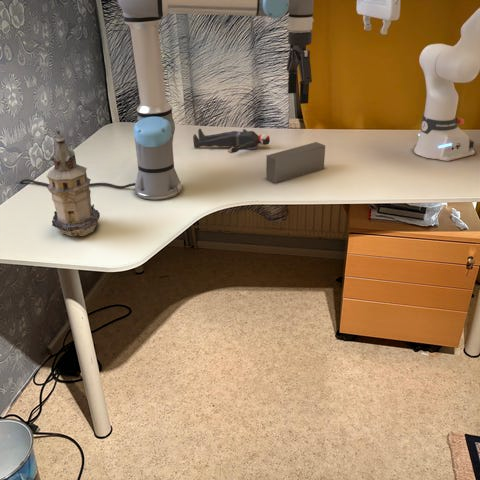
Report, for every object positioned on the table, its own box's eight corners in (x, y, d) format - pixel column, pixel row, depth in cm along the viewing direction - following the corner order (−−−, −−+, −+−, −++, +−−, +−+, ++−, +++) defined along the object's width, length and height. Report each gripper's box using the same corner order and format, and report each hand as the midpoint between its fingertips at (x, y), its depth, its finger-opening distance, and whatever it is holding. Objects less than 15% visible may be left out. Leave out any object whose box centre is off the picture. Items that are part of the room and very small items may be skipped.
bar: (274, 183, 182) (275, 159, 178) (266, 179, 186) (266, 155, 181) (323, 168, 194) (325, 145, 189) (314, 164, 197) (316, 141, 193)
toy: (204, 122, 226) (274, 122, 220) (205, 136, 229) (274, 137, 223) (186, 142, 204) (264, 143, 198) (188, 157, 207) (264, 159, 201)
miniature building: (80, 214, 164) (63, 117, 149) (111, 225, 157) (96, 125, 142) (44, 231, 154) (22, 130, 140) (75, 244, 147) (55, 139, 133)
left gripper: (324, 36, 159) (320, 107, 170) (300, 25, 181) (297, 88, 191) (300, 37, 158) (297, 108, 169) (278, 26, 179) (277, 89, 190)
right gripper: (408, -13, 162) (402, 36, 168) (371, -17, 178) (367, 27, 185) (390, -12, 160) (384, 37, 167) (354, -16, 177) (351, 28, 183)
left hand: (297, 98), depth 180 cm, fingers open, 13 cm apart
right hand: (375, 32), depth 176 cm, fingers open, 8 cm apart
